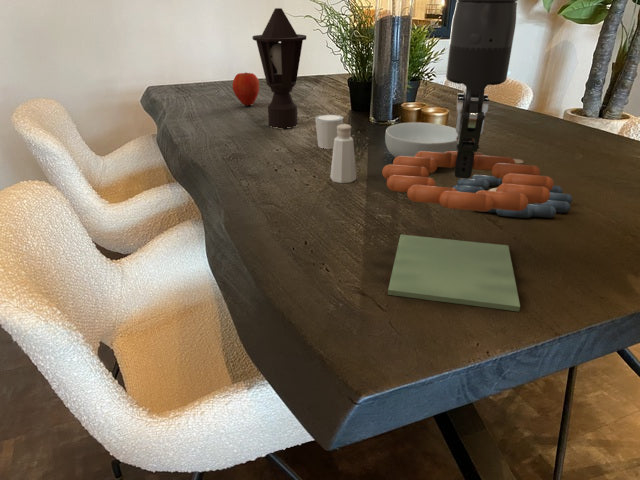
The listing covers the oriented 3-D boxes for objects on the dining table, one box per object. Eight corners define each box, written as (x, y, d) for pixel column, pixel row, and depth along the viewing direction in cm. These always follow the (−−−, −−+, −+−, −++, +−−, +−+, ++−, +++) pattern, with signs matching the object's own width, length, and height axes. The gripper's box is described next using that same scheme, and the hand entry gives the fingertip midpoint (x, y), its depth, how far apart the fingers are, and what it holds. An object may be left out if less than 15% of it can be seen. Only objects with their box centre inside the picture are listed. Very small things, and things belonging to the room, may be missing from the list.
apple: (232, 109, 157) (229, 74, 152) (237, 103, 164) (234, 69, 159) (258, 109, 156) (256, 74, 151) (262, 103, 164) (260, 69, 159)
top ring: (540, 169, 68) (544, 155, 67) (565, 221, 53) (569, 205, 52) (388, 158, 72) (389, 145, 71) (372, 204, 57) (373, 188, 56)
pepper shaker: (327, 182, 98) (328, 128, 93) (332, 173, 103) (332, 121, 98) (354, 184, 97) (356, 129, 92) (357, 175, 102) (359, 122, 97)
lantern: (303, 133, 131) (300, 9, 117) (250, 131, 133) (241, 9, 119) (313, 120, 143) (312, 7, 129) (265, 118, 146) (258, 7, 132)
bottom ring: (562, 187, 95) (564, 178, 94) (581, 225, 80) (584, 214, 79) (451, 179, 100) (452, 169, 99) (450, 213, 85) (451, 202, 84)
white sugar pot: (331, 140, 125) (331, 112, 122) (348, 146, 120) (349, 117, 117) (309, 144, 121) (309, 116, 118) (326, 151, 116) (326, 122, 113)
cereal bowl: (439, 181, 98) (443, 147, 95) (369, 165, 107) (370, 133, 104) (472, 159, 110) (476, 128, 107) (406, 146, 119) (408, 117, 116)
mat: (507, 250, 73) (508, 245, 73) (519, 311, 59) (520, 306, 59) (400, 238, 77) (400, 234, 76) (387, 294, 63) (388, 289, 62)
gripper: (518, 49, 54) (493, 194, 62) (507, 37, 66) (487, 159, 74) (449, 47, 56) (433, 189, 64) (450, 36, 68) (436, 156, 76)
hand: (462, 172), depth 69 cm, fingers closed on top ring, 2 cm apart
